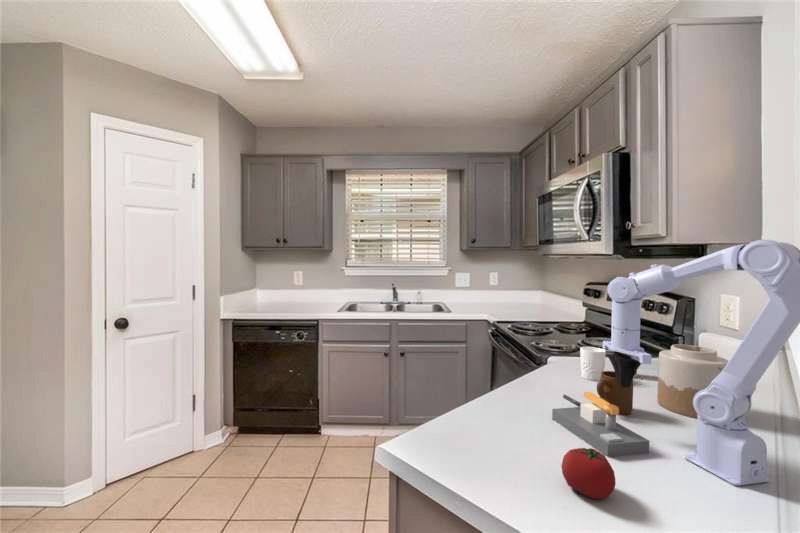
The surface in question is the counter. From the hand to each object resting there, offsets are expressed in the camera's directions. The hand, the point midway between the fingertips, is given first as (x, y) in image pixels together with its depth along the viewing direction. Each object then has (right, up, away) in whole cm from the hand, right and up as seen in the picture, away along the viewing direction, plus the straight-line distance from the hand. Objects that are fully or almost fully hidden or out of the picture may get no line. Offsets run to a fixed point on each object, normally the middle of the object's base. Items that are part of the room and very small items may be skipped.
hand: (624, 386), depth 85 cm
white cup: (+14, -11, +40) cm, 44 cm away
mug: (+4, -11, +11) cm, 16 cm away
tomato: (-21, -10, -24) cm, 33 cm away
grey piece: (-8, -10, -2) cm, 13 cm away
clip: (-6, -4, -1) cm, 8 cm away
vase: (+27, -11, +14) cm, 33 cm away
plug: (-8, -8, +4) cm, 12 cm away
